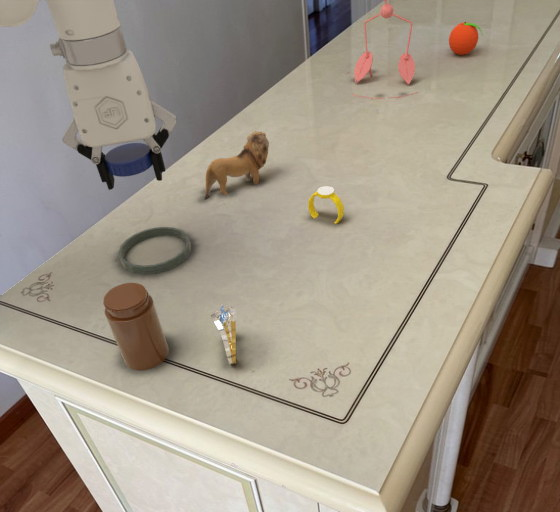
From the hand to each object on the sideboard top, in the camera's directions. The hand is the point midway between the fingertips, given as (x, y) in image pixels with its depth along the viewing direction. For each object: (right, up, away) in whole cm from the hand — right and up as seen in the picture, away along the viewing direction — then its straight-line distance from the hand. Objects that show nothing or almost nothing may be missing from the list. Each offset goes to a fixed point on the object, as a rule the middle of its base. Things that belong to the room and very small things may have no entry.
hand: (135, 179), depth 86 cm
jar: (+4, -26, -8) cm, 28 cm away
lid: (0, +3, -3) cm, 4 cm away
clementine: (+67, +51, +60) cm, 103 cm away
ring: (+15, -26, -9) cm, 32 cm away
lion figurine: (+14, +6, +23) cm, 28 cm away
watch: (+29, -4, +12) cm, 31 cm away
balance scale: (+44, +38, +50) cm, 77 cm away
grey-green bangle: (+1, -9, +9) cm, 13 cm away
